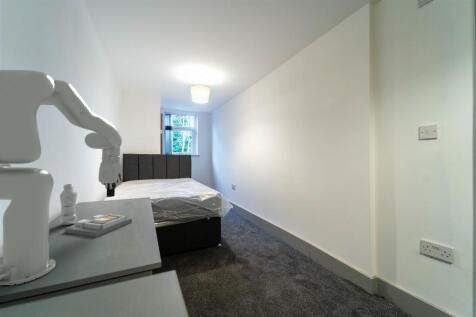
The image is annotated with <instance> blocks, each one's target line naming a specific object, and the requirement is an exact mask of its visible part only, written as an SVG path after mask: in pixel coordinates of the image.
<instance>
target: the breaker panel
mask: <svg viewBox="0 0 476 317" xmlns="http://www.w3.org/2000/svg"><path fill="white" fill-rule="evenodd" d="M108 216H111V217H117V219H116V220H113V221H110V222H106V223H96V222H94V220H95V219H100V218H103V217H108ZM132 222H133V219H132V218H131V217H127V216H126V215H119V214H111V213H109V214H108V213H107V214H106V215H104V214H97V215H94V216H92V217H91V219H80V220H78V221H77V220H76V222H75V224H74V225H73V224H72V225H70V226H67V227H64V233H65V234H66V233H67V234H71V235H79V236H84V237H85V236H86V237H87V236H88V237H93V238H99V237H101V236H103V235H105V234H107V233H110V232H112V231H115V230H116V229H119V228H122V227H124V226H126V225H129V224H131V223H132Z"/></svg>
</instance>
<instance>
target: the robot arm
mask: <svg viewBox="0 0 476 317" xmlns="http://www.w3.org/2000/svg"><path fill="white" fill-rule="evenodd" d="M73 86H74V85H72V84H71V83H69V82H67V81H64V80H59V79H53V78H52V77H51V76H50V75H48V74H47V73H45V72H43V71H38V70H37V71H36V70H30V69H29V70H28V69H27V70H26V69H24V70H23V69H0V200H3V201H4V200H9V201H10V203H9V204H8V206H7V207H6V209H5V211H4V212H3V217H2V263H1V264H0V285H10V286H15V284H16V285H20V284H25V283H27V282H31V281H34V280H36V278H37V279H39V278H41V277H43V276H45V275H47V274H49V273H50V272H52V271H54V269H55V267H56V263H57V262H56V260H55V259H53V258H50V204H51V203H50V202H51V197H52V196H51V195H52V192H53V189H54V182H55V181H54V177H53V176H52V174H51V173H50V172H48V171H47V170H46V169H45V170H44V169H42V168H38V167H37V168H36V167H24V166H23V167H19V166H18V167H15V166H14V167H13V166H12V167H11V165H13V164H14V165H21V164H22V165H23V164H31V163H34V162H37V161H38V160H39V159H40V157H41V155H42V146H41V140H40V134H39V128H38V121H37V115H38V114H37V113H38V110H39V109H40V107H41V106H43V105H44V106H54V107H55V108H56V109H57V110H58V111H59V112H60V113H61V114H62V115H63V116H64V118H66V120H67V121H68V122H69V123H70V124H72V125H73V126H76V127H79V128H80V129H84V130H87V131H91V132H90V133H88V134H86V135H85V137H84V143H85V145H86V146H87V147H88V148H90V149H94V150H101V162H100V163H99V169H98V182H99V183H100V184H101V185H103V186H105V187H104V188H105V189H106V198H111V197H115V194H116V192H115V190H116V189H117V186H121V185H122V183H121V182H122V180H123V170H122V164H121V146H122V143H123V139H122V136H121V134H120V132H119V131H118V130H117V128H116V127H115V125H113V123H111V122H109V121H108V120H107V119H105V118H104V117H101V116H100V115H98V114H96V113H95V112H93V111H92V110H91V109H90V107H89V106H88V104H87V103H86V102H85V100H84V99H83V98H82V97H81V95H80V94H79V93H78V91H77V90H76V89H75V88H74V87H73ZM24 282H25V283H24Z"/></svg>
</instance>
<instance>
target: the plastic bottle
mask: <svg viewBox="0 0 476 317" xmlns="http://www.w3.org/2000/svg"><path fill="white" fill-rule="evenodd" d="M62 188H63V190H62V191H61V193H60V195H59V200H60V206H61V207H60V208H61V210H60V216H59V224H60V225H61V226H69V225H70V226H71V225H73V224H76V222H77V220H78V216H77V213H76V203H77V197H78V193H77V192H76V190H75V189H74V184H73V183H68V184H67V183H66V184H63V187H62Z"/></svg>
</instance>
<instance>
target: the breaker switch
mask: <svg viewBox="0 0 476 317" xmlns="http://www.w3.org/2000/svg"><path fill="white" fill-rule="evenodd" d="M116 219H117V217H111V216H108V217H103V218H100V219H95V220H94V222H96V223H106V222H110V221H113V220H116Z"/></svg>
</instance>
